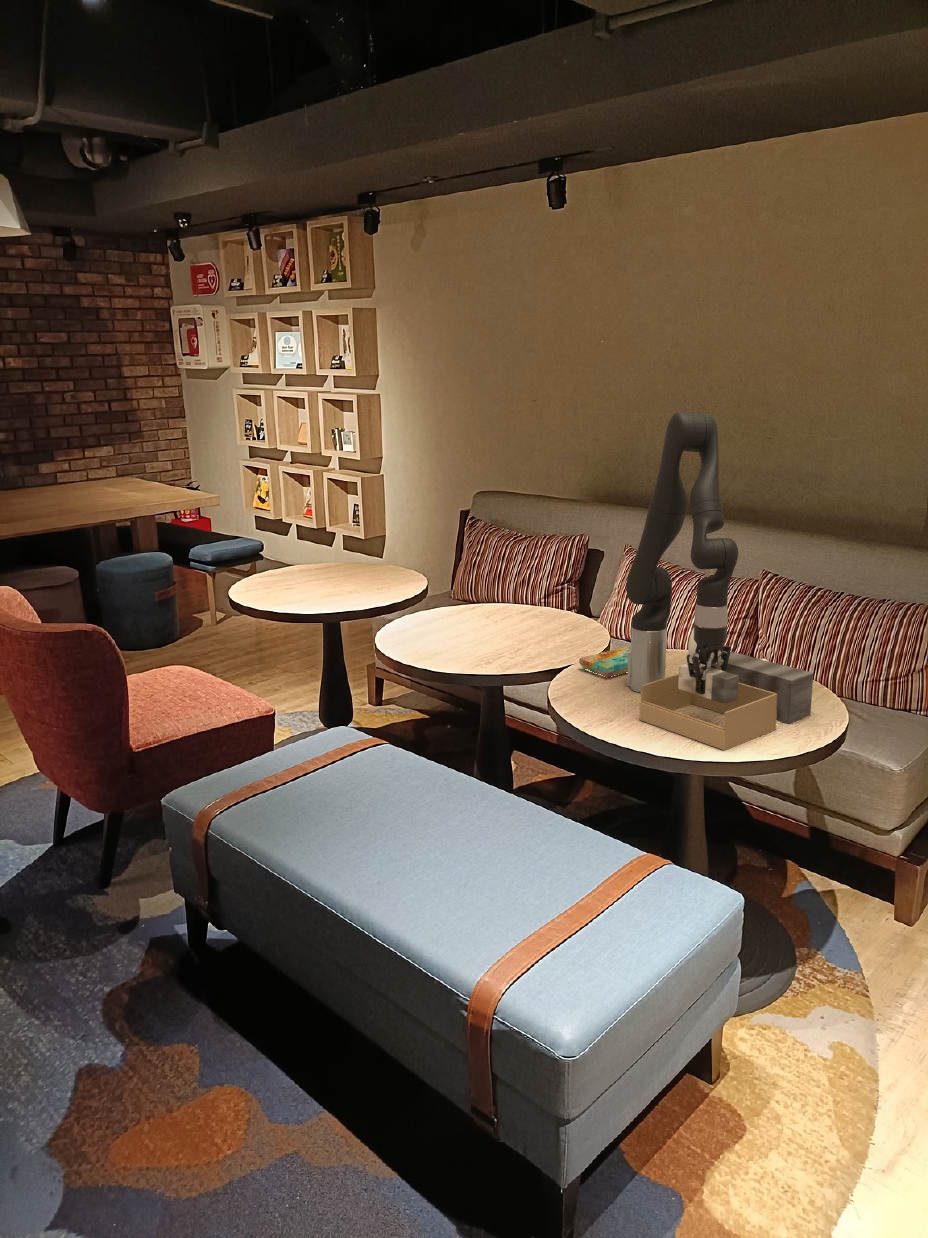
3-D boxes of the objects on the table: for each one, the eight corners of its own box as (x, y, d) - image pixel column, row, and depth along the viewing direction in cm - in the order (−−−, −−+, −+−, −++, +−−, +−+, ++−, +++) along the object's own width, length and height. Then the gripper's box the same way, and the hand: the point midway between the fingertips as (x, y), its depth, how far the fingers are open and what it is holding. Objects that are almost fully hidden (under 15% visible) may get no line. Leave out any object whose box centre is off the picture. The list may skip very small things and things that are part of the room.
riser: (708, 698, 241) (709, 658, 238) (729, 691, 246) (731, 651, 243) (788, 724, 222) (791, 680, 220) (810, 715, 228) (813, 673, 225)
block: (678, 688, 226) (679, 665, 224) (690, 684, 228) (691, 661, 227) (725, 704, 215) (726, 679, 213) (737, 699, 217) (738, 675, 216)
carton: (639, 720, 227) (640, 685, 225) (691, 702, 239) (692, 669, 236) (723, 750, 208) (725, 713, 206) (775, 729, 219) (778, 693, 217)
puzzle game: (579, 655, 266) (629, 643, 277) (579, 671, 267) (629, 658, 278) (607, 665, 256) (658, 652, 267) (607, 681, 258) (657, 667, 269)
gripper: (717, 614, 224) (713, 681, 228) (678, 624, 216) (675, 693, 220) (743, 620, 218) (738, 688, 222) (703, 631, 210) (700, 702, 214)
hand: (707, 690), depth 221 cm, fingers closed on block, 4 cm apart
